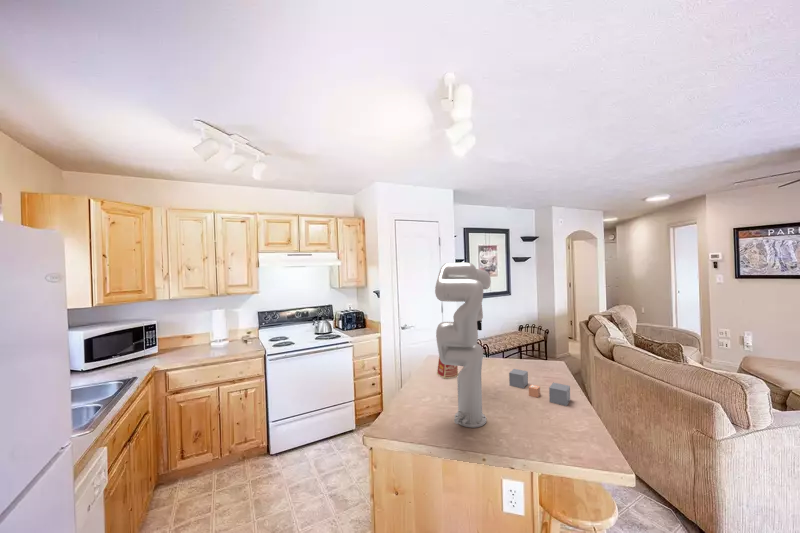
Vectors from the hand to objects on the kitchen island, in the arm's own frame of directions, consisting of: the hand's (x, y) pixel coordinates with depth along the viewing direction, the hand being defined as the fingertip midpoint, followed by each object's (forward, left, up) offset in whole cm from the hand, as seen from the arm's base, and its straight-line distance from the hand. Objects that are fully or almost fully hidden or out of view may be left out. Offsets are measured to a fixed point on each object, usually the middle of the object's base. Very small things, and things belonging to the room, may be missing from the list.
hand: (474, 331), depth 160 cm
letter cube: (+8, -26, -28) cm, 39 cm away
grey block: (+8, -37, -28) cm, 47 cm away
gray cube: (+16, -16, -28) cm, 36 cm away
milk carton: (+7, +20, -28) cm, 36 cm away
